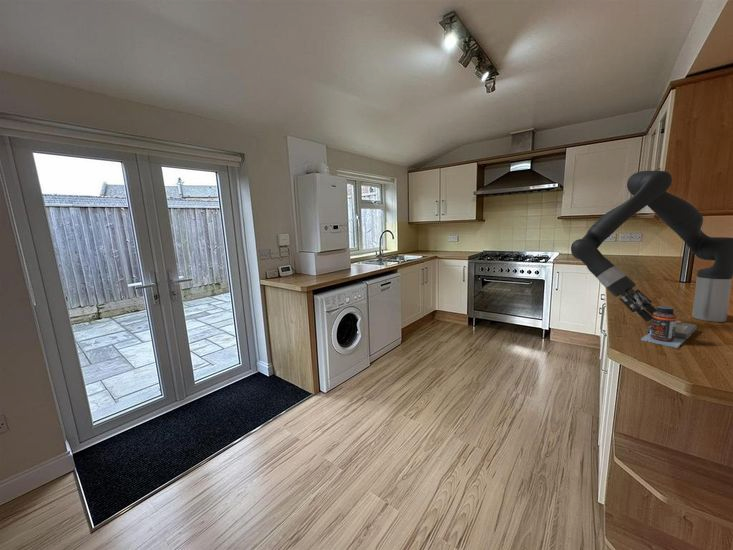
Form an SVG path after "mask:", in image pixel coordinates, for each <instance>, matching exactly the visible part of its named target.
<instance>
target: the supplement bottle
mask: <svg viewBox="0 0 733 550" xmlns="http://www.w3.org/2000/svg"><path fill="white" fill-rule="evenodd" d="M656 309H657V311H656V312H653V314H652V315H651V316H652V317H653V319H652V320H650V322H651V323H650V324H651V325H650V326H651V330H650V336H651V337H652V338H653V339H656V340H660V341H673V340H674V335H675V328H676V320H677V318H678V317H677V315H676V314H675V313H674V307H672V306H667V305H658V306H656Z"/></svg>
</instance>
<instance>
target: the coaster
mask: <svg viewBox="0 0 733 550" xmlns="http://www.w3.org/2000/svg"><path fill="white" fill-rule="evenodd" d="M640 341H641V342H647V341H648V343H651V342H652V344H656V345H660V344H661V346H665V347H671V348H675V349H679V348H680V345H681V344H682V343H683V342H684V341H686V340H683V339H678V338H674V340H673V341H660V340H656V339H653V338H652V337H651V336H650V333H647V334H646V335H644V336H643V337H641V338H640ZM684 343H685V342H684ZM684 343H683V344H684ZM683 344H682V345H683ZM682 345H681V346H682Z"/></svg>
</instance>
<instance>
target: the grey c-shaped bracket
mask: <svg viewBox="0 0 733 550" xmlns="http://www.w3.org/2000/svg"><path fill="white" fill-rule="evenodd" d="M675 329H677V330H682V331H677V330H675V335H674V338H678V339H683V340H685V341H687V340H688V339H689V338H690V337H691V336H692V335H693V334H694V333H695V332H696V331H697V324H694V323H693V324H692V323H689V322H688V323H687V322H682V321H681V320H677V319H676V328H675ZM650 330H651V325H648V326H647V327H646V333H647V332H650ZM695 330H696V331H695ZM694 331H695V332H694ZM693 332H694V333H693ZM692 333H693V334H692ZM691 334H692V335H691ZM686 339H687V340H686Z"/></svg>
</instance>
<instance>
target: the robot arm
mask: <svg viewBox="0 0 733 550" xmlns="http://www.w3.org/2000/svg"><path fill="white" fill-rule="evenodd" d="M672 183H673V177H672V174H671V173H670V172H668V171H666V170H641V171H637V172H635V173H633V174H632V175H630V177H629V178H628V179H627V182H626V188H627V190H628V192H629V194H631V195H632V197H629V199H627V200H626V201H625V202H622V203H621V204H620V205H617V206H616V207H615V208H613V209H610V210H609V211H608V212H606V213H605V214H603V215H602V216H601V217H599V219H598V220H597V221H596V222H594V223H593V224H592V225H591V226H590V227H589V228H588V230H587V232H586V234H585V235H584V236H583V237H582V238H578V239H575V240H574V241H573V242H572V244H571V246H570V253H571V255H572V257H574V258H575V259H576V260H580V261H581V262H582V263H583V264H584V265H585V266H586V269H588V271H589V272H590V273H591V274H592V275H593V276H594V277H595V278H596V279H597V280H598V281H599V282H600V284H601V285H603V287H604V288H606V290H607V291H609V292H610V293H611V294H612V295H613V296H614V297H615V298H618V297H619V296H621V297H619V298H618V299H619V301H621V303H623V305H625V306H626V308H628V310H630V312H632V313H636V314H637V315H639V316H640V317H641V318H642V319H643V320H644V321H645V322H651V321H652V319H653V317H652V314H653V312H656V311H657V307H654V305H653V301H652V300H651V299H650V298H649V297H648V296H646V295H645V294H644V293H643V292H642V291H641V290H639V289H636V290H634V289H633V288H635V287H636V285H637V284H636V282H634V281H633V280H632V279H631V278H630V277H629V276H627V274H625V273H624V272H623V271H622V270H621V269H619V268H618V267H617V266H615V264H613V263H612V262H611V260H609V259H608V258H606V257H605V256H604V255H603V254H602V252H601V251H600V250H599V247H600V246H601V245H602V244H603V243H604V241H606V240H607V239H608V238H609V237H610V236H611V235H612V234H614V233H615V231H617V230H618V229H619V228H620V227H621V226H622V225H623V224H624V223H626V222H627V221H628V220H629V219H630V218H632V217H633V216H635V215H636V214H637V213H638V212H640V211H641V210H643V209H644V208H645V207H648V208H649V209H650V210H651V211H652V212H653V213H655V215H657V217H658V218H660V219H661V220H662V222H663V223H664V224H665V225H666V226H668V227H669V229H671V230H672V231H673V232H674V233H675V234H677V236H679V238H680V239H681V240H683V242H684V243H685V244H686V246H687V247H688V248H689V249H690V251H691V252H692V253H693V255H694V256H696V257H697V258H699V259H701V260H706V261H714V263H713V265H711V266H709V267H705V268H701V269H698V270H697V273H696V283H695V291H694V297H693V303H692V304H693V305H692V312H691V317H692V318H694V319H696V320H700V321H707V322H715V323H716V322H717V323H720V322H721V323H722V322H727V317H728V310H729V305H730V304H729V303H730V296H731V289H732V284H733V283H732V282H733V237H728V236H727V237H723V236H721V237H720V236H719V237H718V236H717V237H716V236H713V237H712V236H709V235H707V234H705V233H704V232H703V230H702V227H703V223H704V217H703V214H702V213H701V212H700V211H699V210H698V209H697V208H696V207H695V206H694V205H693V204H691V203H690V202H688V201H686V200H685V199H683V198H681V197H679V196H677V195H674V194H671V193H670V192H668V190H669V188H670V187H671V186H672Z"/></svg>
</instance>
